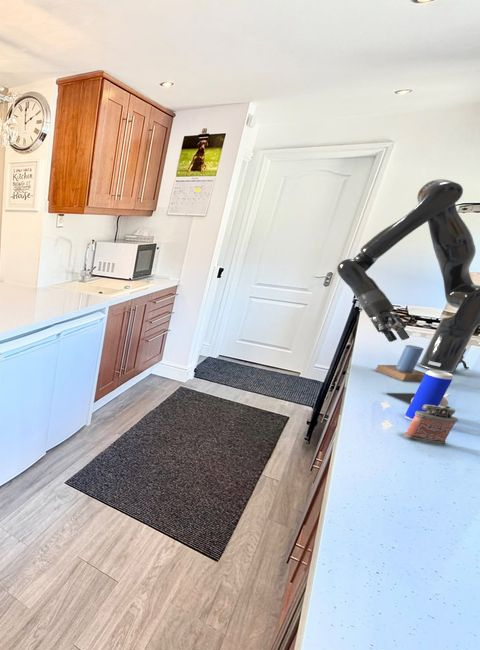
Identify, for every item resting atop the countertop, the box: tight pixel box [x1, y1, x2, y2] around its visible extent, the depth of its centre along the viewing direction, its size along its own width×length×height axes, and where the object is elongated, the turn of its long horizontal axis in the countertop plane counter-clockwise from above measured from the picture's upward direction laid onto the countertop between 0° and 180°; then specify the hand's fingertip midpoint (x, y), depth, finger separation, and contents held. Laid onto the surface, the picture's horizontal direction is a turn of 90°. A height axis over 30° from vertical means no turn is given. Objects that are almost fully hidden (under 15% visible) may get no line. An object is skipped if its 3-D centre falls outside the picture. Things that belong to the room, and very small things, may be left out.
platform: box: [375, 364, 426, 382], centre depth 151 cm, size 10×10×2 cm
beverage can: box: [404, 369, 454, 421], centre depth 115 cm, size 5×5×15 cm
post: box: [396, 344, 424, 372], centre depth 148 cm, size 5×5×9 cm
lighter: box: [403, 404, 459, 446], centre depth 105 cm, size 8×3×10 cm, turn 71°
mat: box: [386, 392, 450, 408], centre depth 130 cm, size 10×10×1 cm
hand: (399, 339), depth 150 cm, fingers open, 8 cm apart
